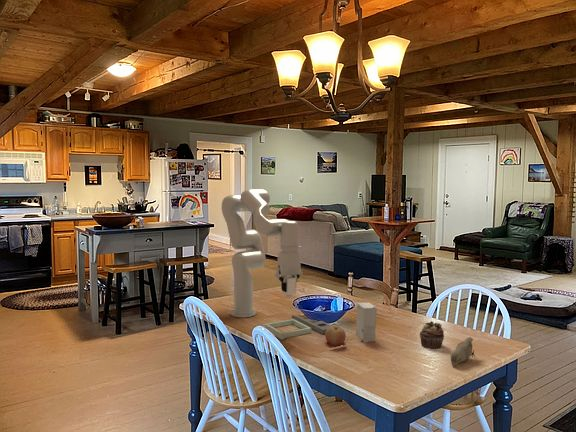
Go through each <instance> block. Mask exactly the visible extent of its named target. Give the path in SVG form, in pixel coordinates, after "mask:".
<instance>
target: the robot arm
mask: <svg viewBox="0 0 576 432" xmlns="http://www.w3.org/2000/svg"><path fill="white" fill-rule="evenodd" d="M270 200H271V197H270V193H268V191H267V190H265V189H263V188H260V189H259V188H258V189H256V188H254V189H246V190H243V191H242V193H241V194H230V195H227V196H225V197H224V198H223V199H222V201H221V212H222V216H223V218H224V220H225V223H226V226H227V227H226V228H227V232H228V235H229V240H230V245H231V247H232V249H234V250H242V251H238V252H235V253H234V254H233V255H232V257H231V265H232V270H233V271H232V272H233V310H231V311H230V315H231V316H232V317H234V318H242V319H243V318H244V319H245V318H250V317H251V318H252V317H254V316H256V315H257V311H256V310H255V309H254V278H253V275H252V273H251V272H250V271H252V270H258V269H262V268H264V267H265V266H266V263H267V262H266V259H267V258H266V253H265V247H264V243H263V239H262V236H264V237H267V238H269V237H271V238H272V237H280V252H278V256H277V259H276V272H275V274H274V278H276V279H278V280H279V282H280V283H281V292H282V291H284V292H286V291H287V283H286V277H287V276H292V277H295V278H296V283H297V282H298V280H299V278H300V277H301V276H302V275H304V272H303V270H302V269H301V265H302V264H301V256H300V252H299V250H300V249H301V246H300V245H299V222H297V221H295V220H290V219H286V218H275V219H267V218H266V217H267V216H268V215H269V213H270V211H271V207H270V204H269V203H270ZM240 212H250V213H251V214H252V215H253V219H252V220H253V225H254V227H255V229H254V228H253V229H252V228H251V229H247V228H246V226H245V221H244V219H243V218H242V216H241V215H240V214H238V213H240ZM261 235H262V236H261ZM246 249H250V250H246ZM243 250H244V251H243Z"/></svg>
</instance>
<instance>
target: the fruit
mask: <svg viewBox="0 0 576 432" xmlns="http://www.w3.org/2000/svg"><path fill="white" fill-rule="evenodd" d="M324 336H325V340H326V342H327V343H328V344H329V345H331V346H334V347H336V348H337V347H340V346H342V345H343V344H344V343H345V341H346V339H347V338H346V336H347V335H346V332H345V330H344V329H343V328H342V327H341V326H339V325H335V324H334V325H332V326H330V327H329V328H328V329H327V330H326V333H325V334H324Z"/></svg>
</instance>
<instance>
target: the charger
mask: <svg viewBox="0 0 576 432" xmlns="http://www.w3.org/2000/svg"><path fill="white" fill-rule="evenodd" d="M286 283H287V291H286V292H284V291H282V290H281V292H282V293H283V294H285V298H289V299H290V298H293V295H295V294H296V293H297V291H296V290H297V282H296V278H295V277H292V276H291V275H290V276H287V277H286Z"/></svg>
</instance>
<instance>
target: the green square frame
mask: <svg viewBox="0 0 576 432" xmlns="http://www.w3.org/2000/svg"><path fill="white" fill-rule="evenodd" d="M291 325H293V326H295V327H297V328H299V329H295V330H294V329H293V330H289V331H283V332H282V331H280V330H279V329H277V328H279V327H284V326H285V327H286V326H291ZM265 328H267V329H268V330H269V331H270V332H272V333H273V334H274V335H275V336H276V337H277V339H278V340H280V341H286V340H288V339H287V338H292V337H296V336H301V335H307V334H312V329H311V328H310V327H308V326H306V325H304V324H302V323H300V322H298V321H296V320H294V318H292V319H287V320H286V319H285V320H280V321H275V322H269V323H265V324H264V329H265ZM275 336H274V337H275ZM276 337H275V338H276Z"/></svg>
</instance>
